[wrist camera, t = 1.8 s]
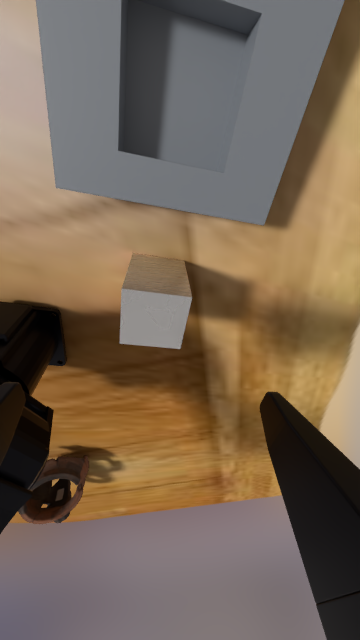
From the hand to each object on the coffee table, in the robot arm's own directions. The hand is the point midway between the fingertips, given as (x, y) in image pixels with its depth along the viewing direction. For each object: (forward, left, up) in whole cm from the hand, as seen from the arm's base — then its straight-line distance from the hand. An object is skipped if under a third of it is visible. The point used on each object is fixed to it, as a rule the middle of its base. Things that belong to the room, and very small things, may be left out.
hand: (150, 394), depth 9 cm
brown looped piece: (-33, +11, -12) cm, 37 cm away
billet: (-1, 0, -12) cm, 12 cm away
